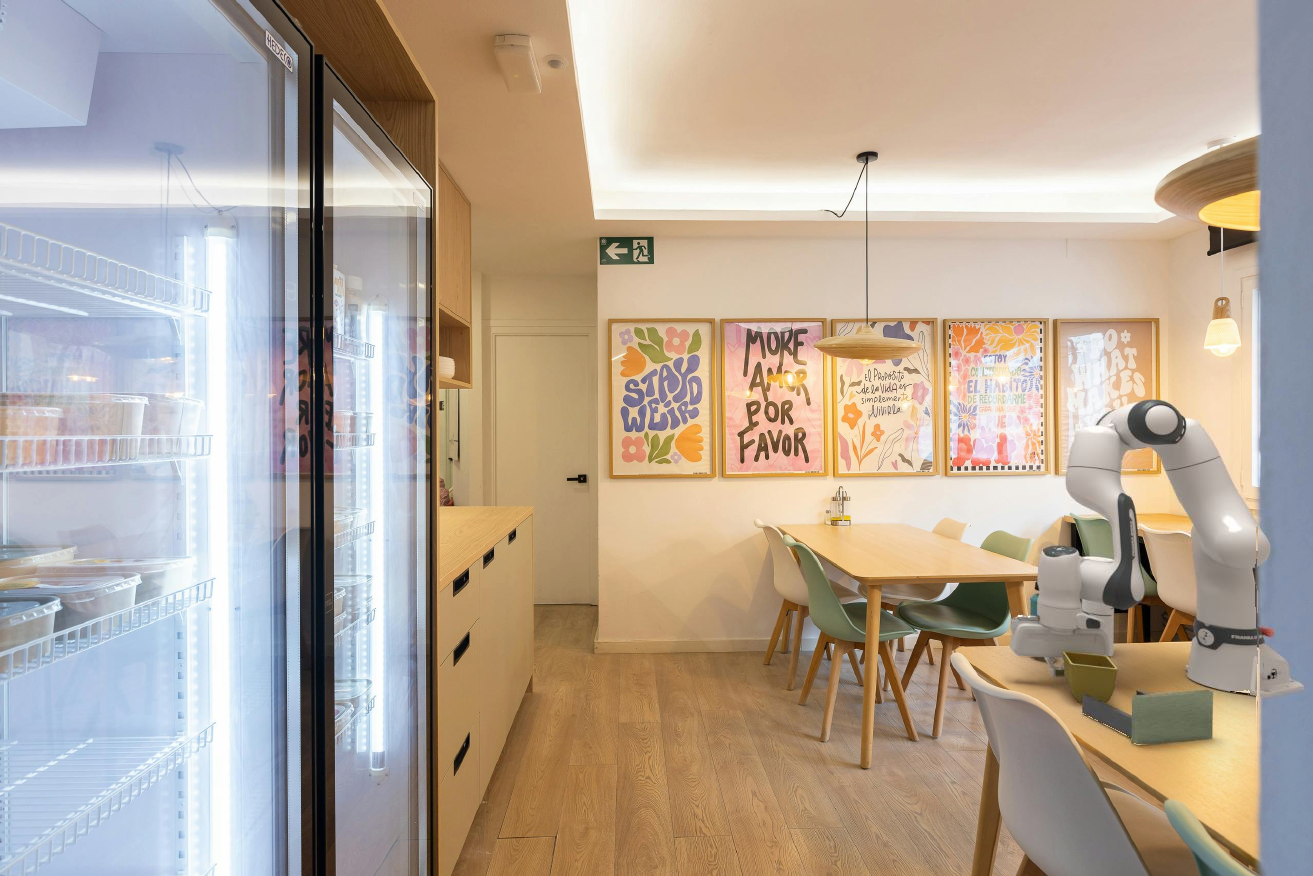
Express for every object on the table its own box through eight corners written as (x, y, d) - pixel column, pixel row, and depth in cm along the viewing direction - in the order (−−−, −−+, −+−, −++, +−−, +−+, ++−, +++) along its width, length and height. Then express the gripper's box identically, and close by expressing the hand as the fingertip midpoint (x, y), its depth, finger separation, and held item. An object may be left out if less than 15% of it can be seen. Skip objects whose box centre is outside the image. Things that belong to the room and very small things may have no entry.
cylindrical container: (1118, 653, 178) (1119, 559, 178) (1106, 658, 174) (1107, 562, 174) (1088, 646, 184) (1089, 555, 184) (1076, 651, 180) (1077, 558, 180)
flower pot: (1118, 711, 142) (1118, 668, 142) (1070, 704, 145) (1070, 663, 145) (1106, 695, 150) (1106, 655, 150) (1061, 690, 153) (1061, 650, 153)
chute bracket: (1146, 708, 143) (1146, 666, 143) (1212, 738, 129) (1213, 692, 129) (1076, 714, 140) (1077, 671, 140) (1137, 745, 126) (1137, 698, 126)
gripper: (1015, 618, 154) (1015, 678, 155) (1113, 622, 151) (1112, 684, 151) (1006, 611, 161) (1005, 668, 161) (1099, 615, 157) (1099, 673, 157)
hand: (1058, 676), depth 156 cm, fingers closed
